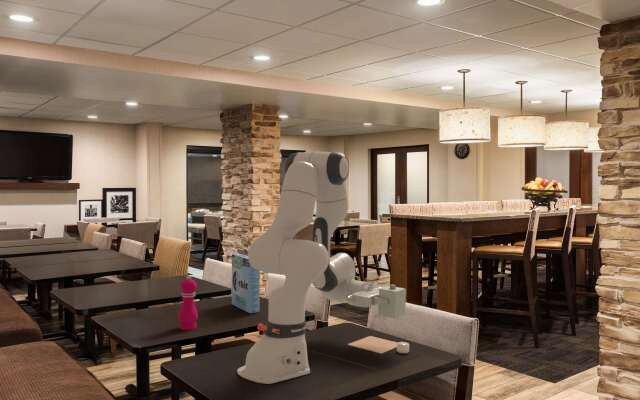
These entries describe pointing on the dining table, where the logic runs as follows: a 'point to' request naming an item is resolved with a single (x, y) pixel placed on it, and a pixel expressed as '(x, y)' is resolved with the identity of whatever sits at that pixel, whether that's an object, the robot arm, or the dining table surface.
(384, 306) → the pale green square canister
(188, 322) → the pepper mill
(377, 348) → the mat
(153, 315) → the dining table surface
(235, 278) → the gum box
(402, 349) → the cream short cylinder
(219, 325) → the dining table surface
